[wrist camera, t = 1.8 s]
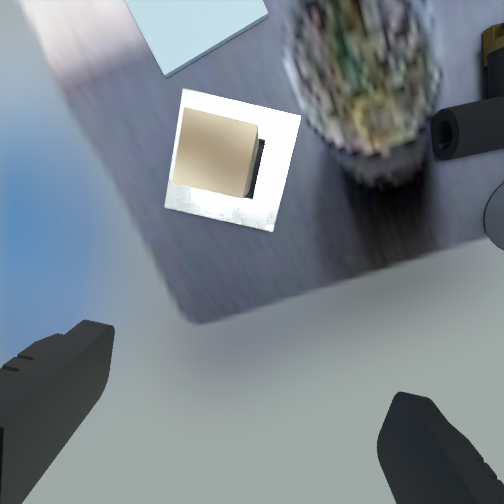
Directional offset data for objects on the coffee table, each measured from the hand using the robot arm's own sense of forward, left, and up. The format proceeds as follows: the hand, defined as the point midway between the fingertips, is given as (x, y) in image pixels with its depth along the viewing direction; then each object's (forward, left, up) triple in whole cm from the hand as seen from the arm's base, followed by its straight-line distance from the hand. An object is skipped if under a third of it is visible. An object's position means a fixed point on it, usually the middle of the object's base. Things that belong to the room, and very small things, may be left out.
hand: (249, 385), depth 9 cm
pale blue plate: (+25, -5, -28) cm, 38 cm away
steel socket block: (+8, -1, -28) cm, 29 cm away
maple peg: (+8, -1, -28) cm, 29 cm away
